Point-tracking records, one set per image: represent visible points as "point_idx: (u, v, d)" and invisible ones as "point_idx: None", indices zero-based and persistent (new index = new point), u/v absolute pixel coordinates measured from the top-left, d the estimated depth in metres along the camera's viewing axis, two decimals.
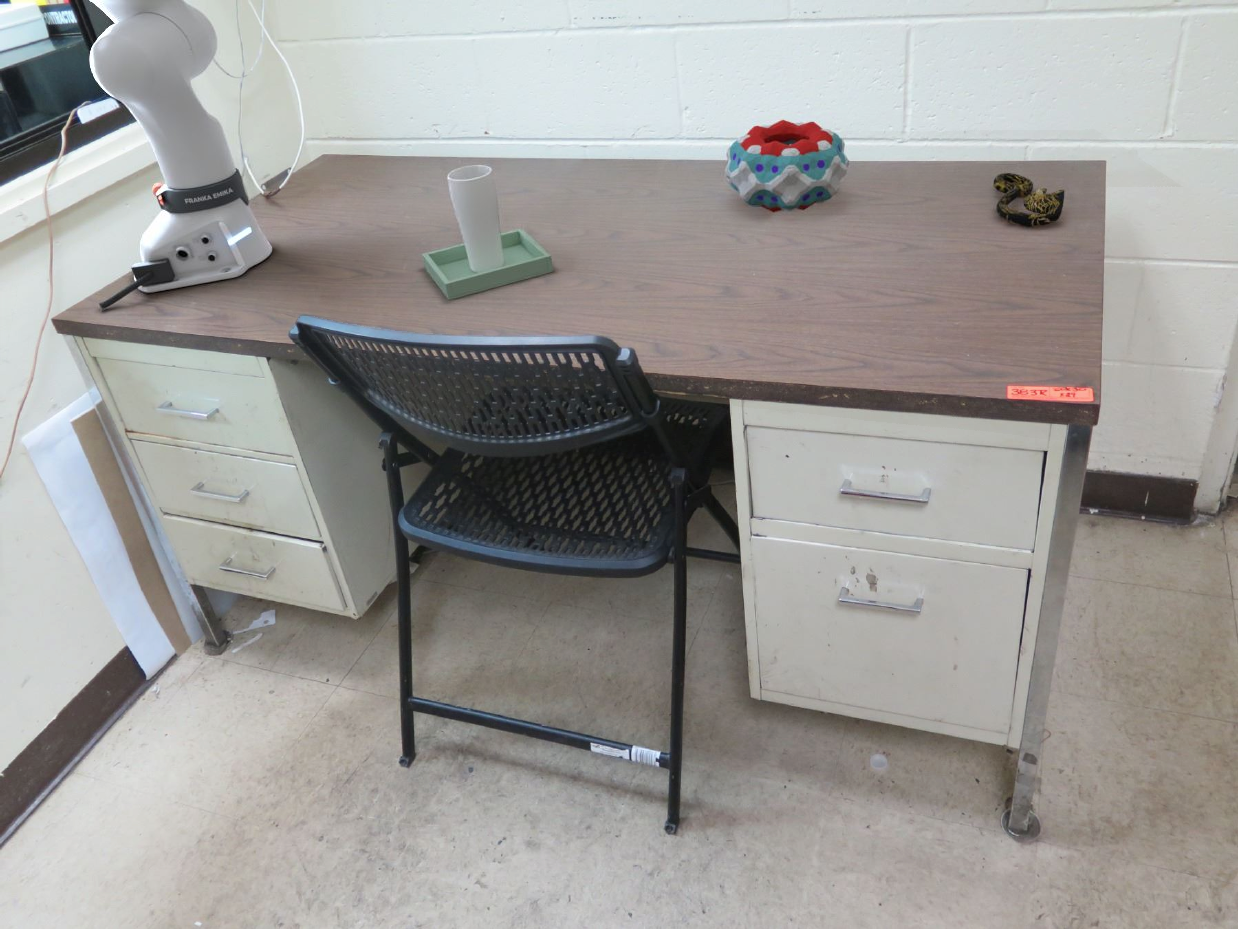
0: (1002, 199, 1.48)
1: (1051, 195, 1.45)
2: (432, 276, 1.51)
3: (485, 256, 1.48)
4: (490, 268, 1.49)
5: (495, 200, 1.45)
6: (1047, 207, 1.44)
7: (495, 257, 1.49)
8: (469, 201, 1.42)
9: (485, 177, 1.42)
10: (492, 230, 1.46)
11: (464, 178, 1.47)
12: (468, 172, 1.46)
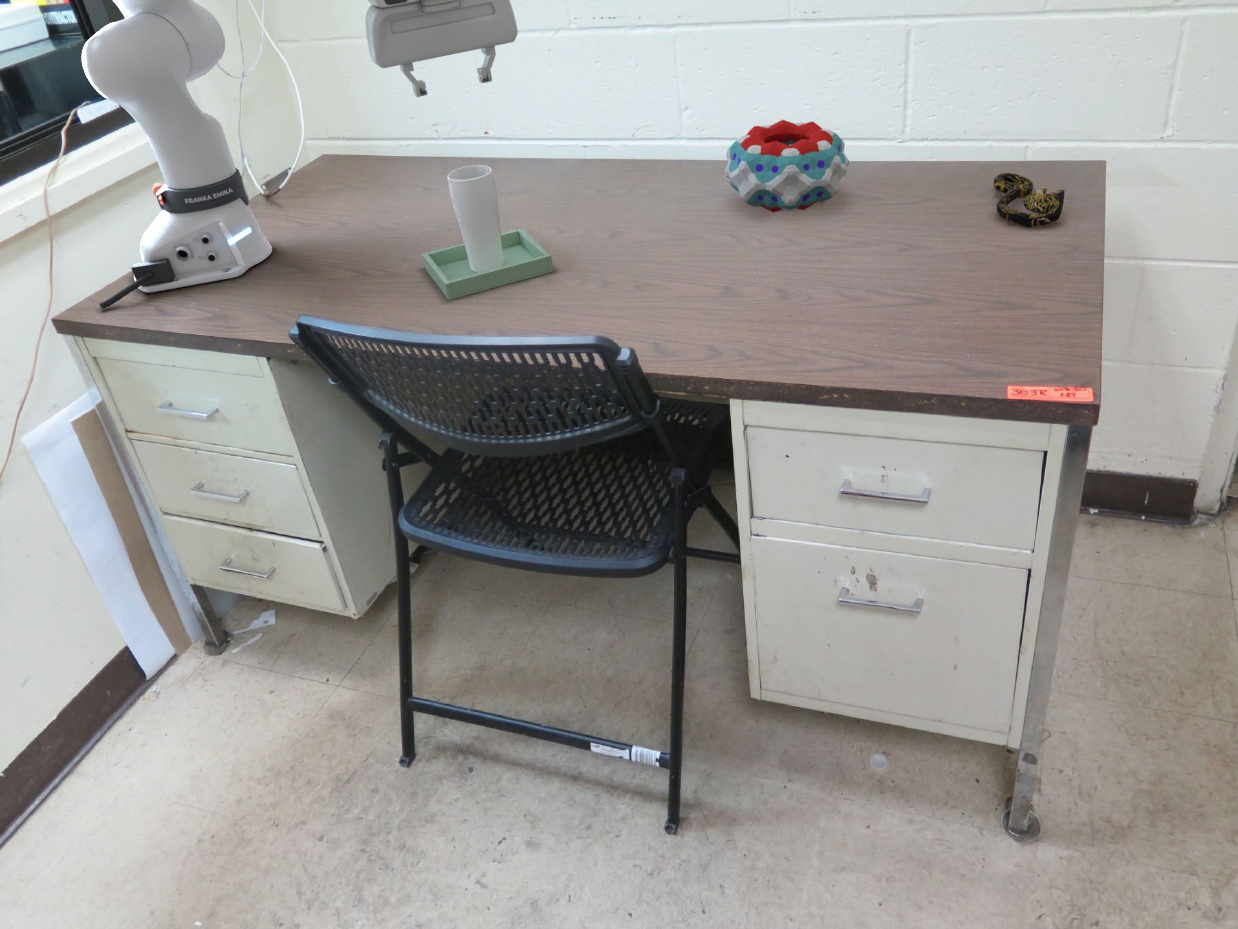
0: (1002, 199, 1.48)
1: (1051, 195, 1.45)
2: (432, 276, 1.51)
3: (485, 256, 1.48)
4: (490, 268, 1.49)
5: (495, 200, 1.45)
6: (1047, 207, 1.44)
7: (495, 257, 1.49)
8: (469, 201, 1.42)
9: (485, 177, 1.42)
10: (492, 230, 1.46)
11: (464, 178, 1.47)
12: (468, 172, 1.46)
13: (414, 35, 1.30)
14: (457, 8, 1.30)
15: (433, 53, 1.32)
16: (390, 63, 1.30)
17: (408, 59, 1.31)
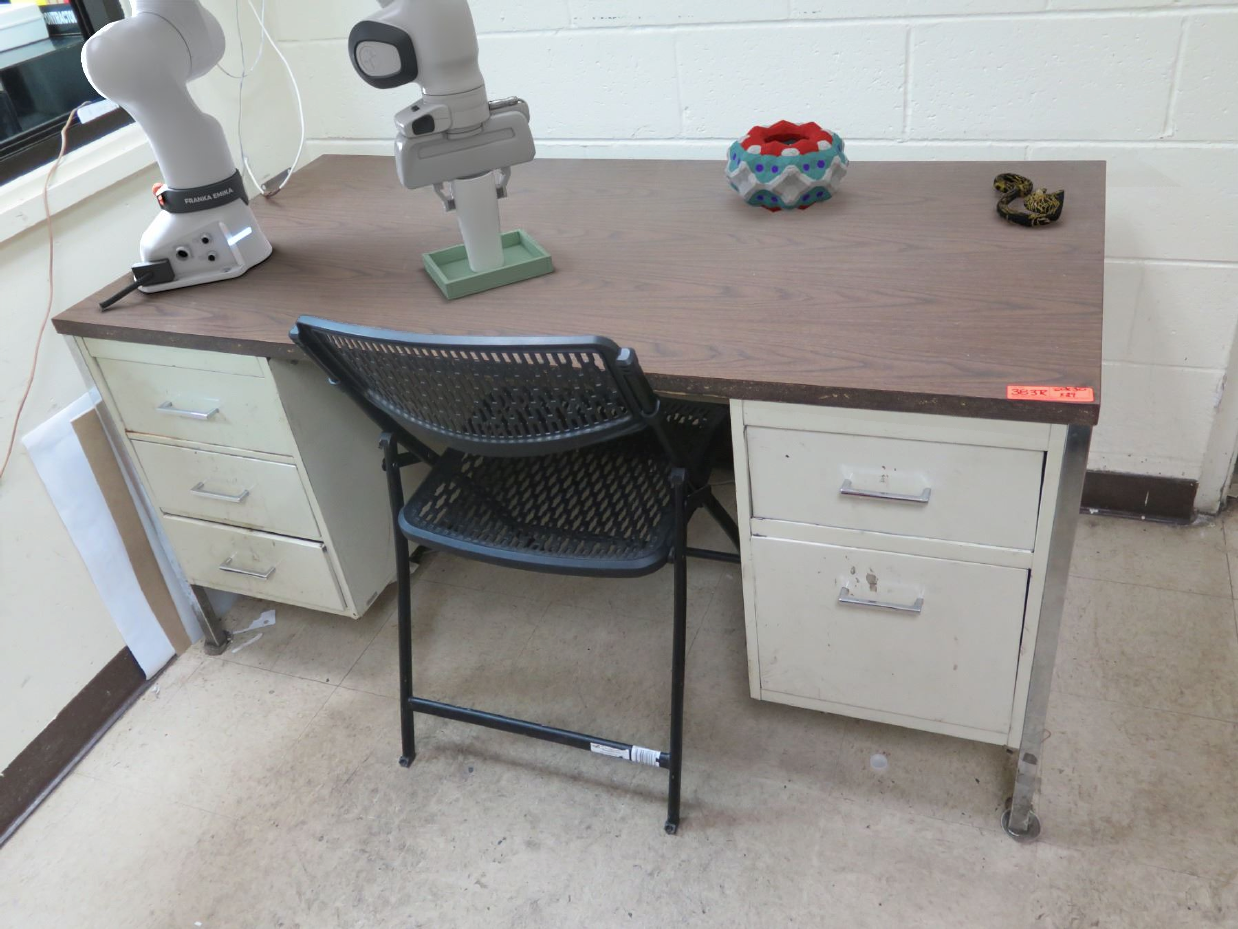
0: (1002, 199, 1.48)
1: (1051, 195, 1.45)
2: (432, 276, 1.51)
3: (485, 256, 1.48)
4: (490, 268, 1.49)
5: (495, 200, 1.45)
6: (1047, 207, 1.44)
7: (495, 257, 1.49)
8: (470, 201, 1.42)
9: (485, 177, 1.42)
10: (492, 230, 1.46)
11: (464, 178, 1.47)
12: None
13: (440, 159, 1.39)
14: (480, 134, 1.40)
15: (457, 175, 1.41)
16: (417, 185, 1.39)
17: (434, 181, 1.40)
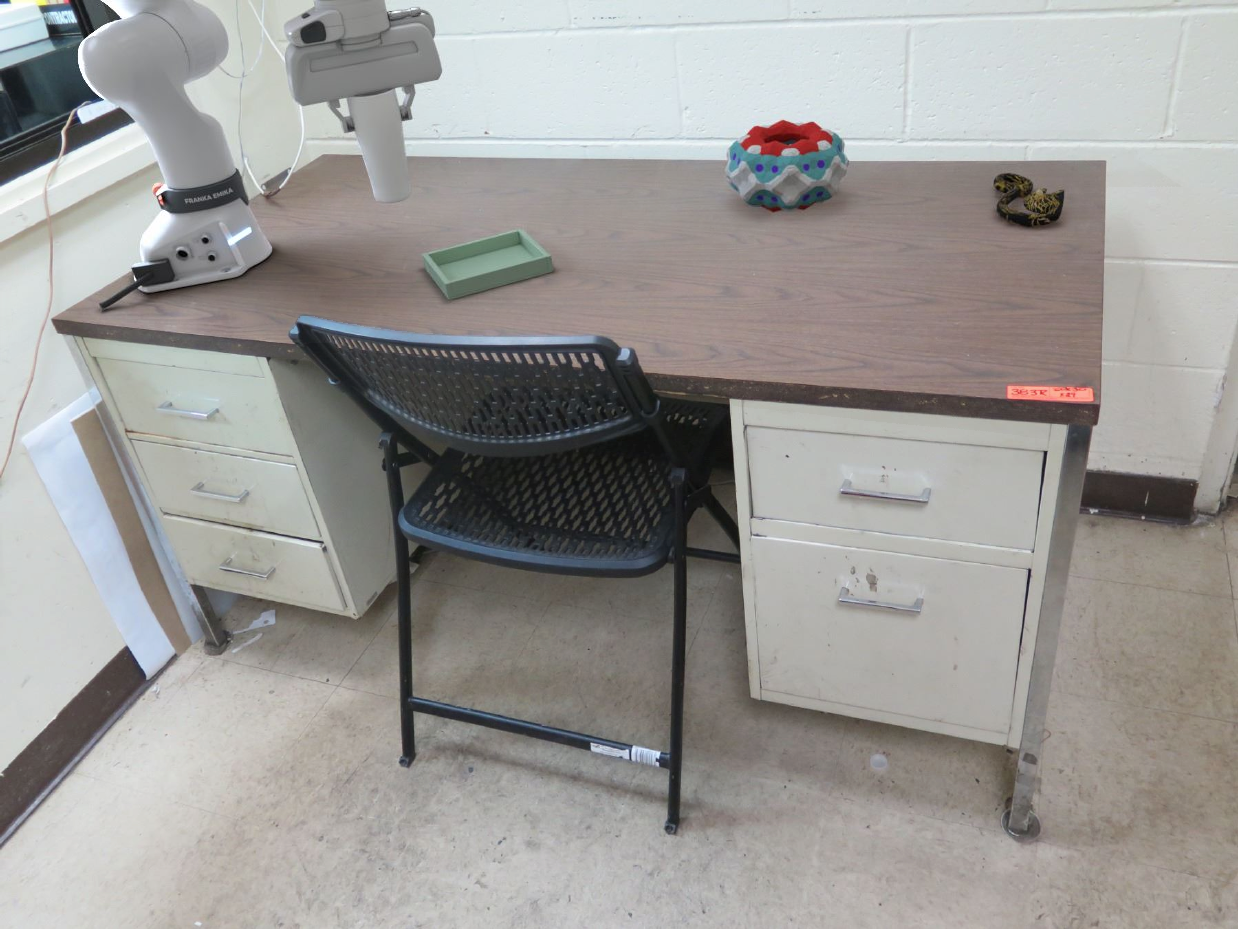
0: (1002, 199, 1.48)
1: (1051, 195, 1.45)
2: (432, 276, 1.51)
3: (389, 183, 1.37)
4: (395, 197, 1.39)
5: (399, 121, 1.34)
6: (1047, 207, 1.44)
7: (400, 185, 1.38)
8: (369, 121, 1.32)
9: (386, 95, 1.31)
10: (395, 154, 1.36)
11: None
12: None
13: (334, 73, 1.28)
14: (378, 46, 1.29)
15: (354, 91, 1.30)
16: (310, 101, 1.29)
17: (328, 97, 1.29)
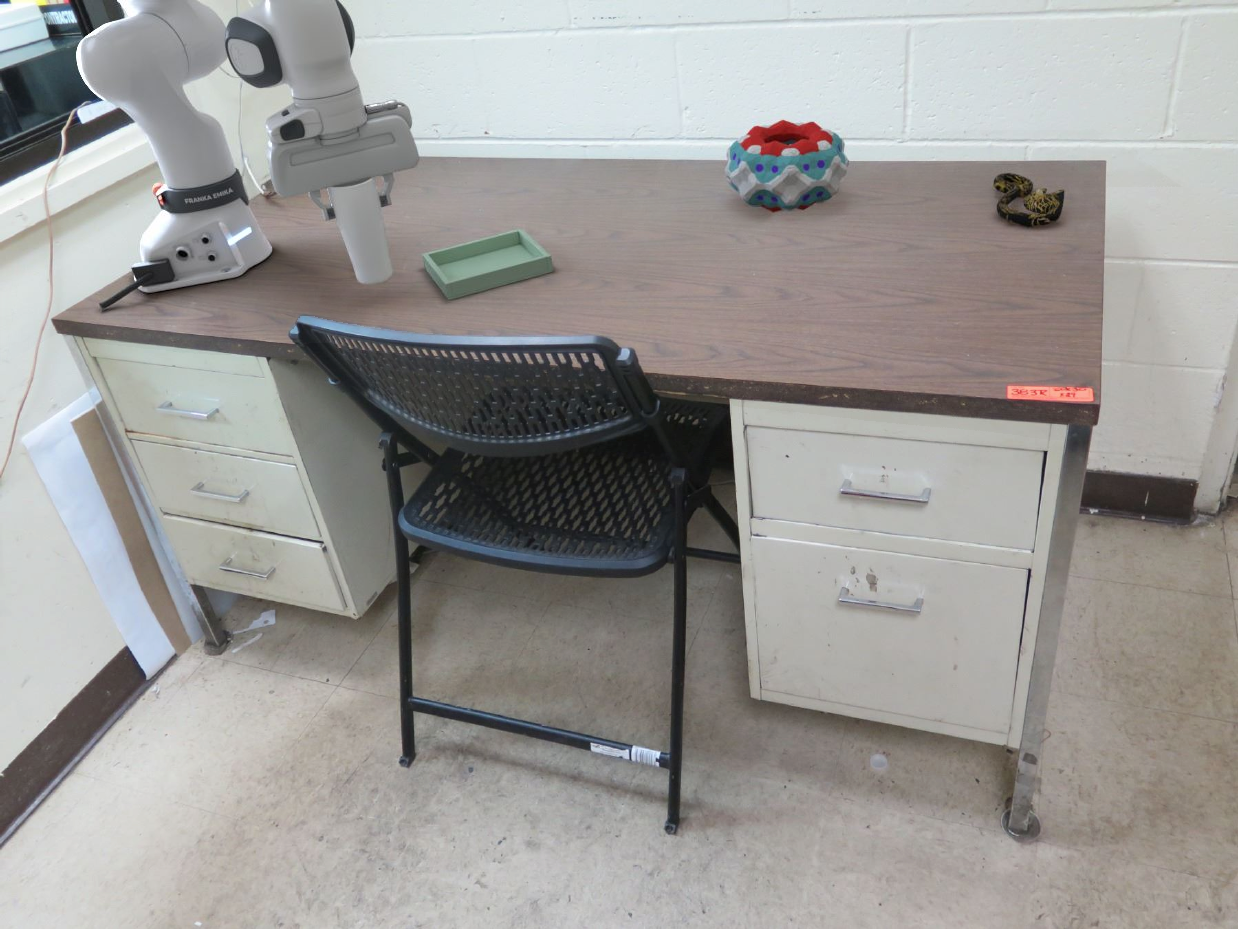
0: (1002, 199, 1.48)
1: (1051, 195, 1.45)
2: (432, 276, 1.51)
3: (370, 267, 1.42)
4: (376, 279, 1.43)
5: (378, 208, 1.38)
6: (1047, 207, 1.44)
7: (381, 268, 1.42)
8: (349, 209, 1.36)
9: (365, 184, 1.35)
10: (375, 239, 1.40)
11: (347, 185, 1.40)
12: None
13: (314, 166, 1.33)
14: (356, 139, 1.33)
15: (334, 182, 1.35)
16: (291, 193, 1.33)
17: (309, 188, 1.34)
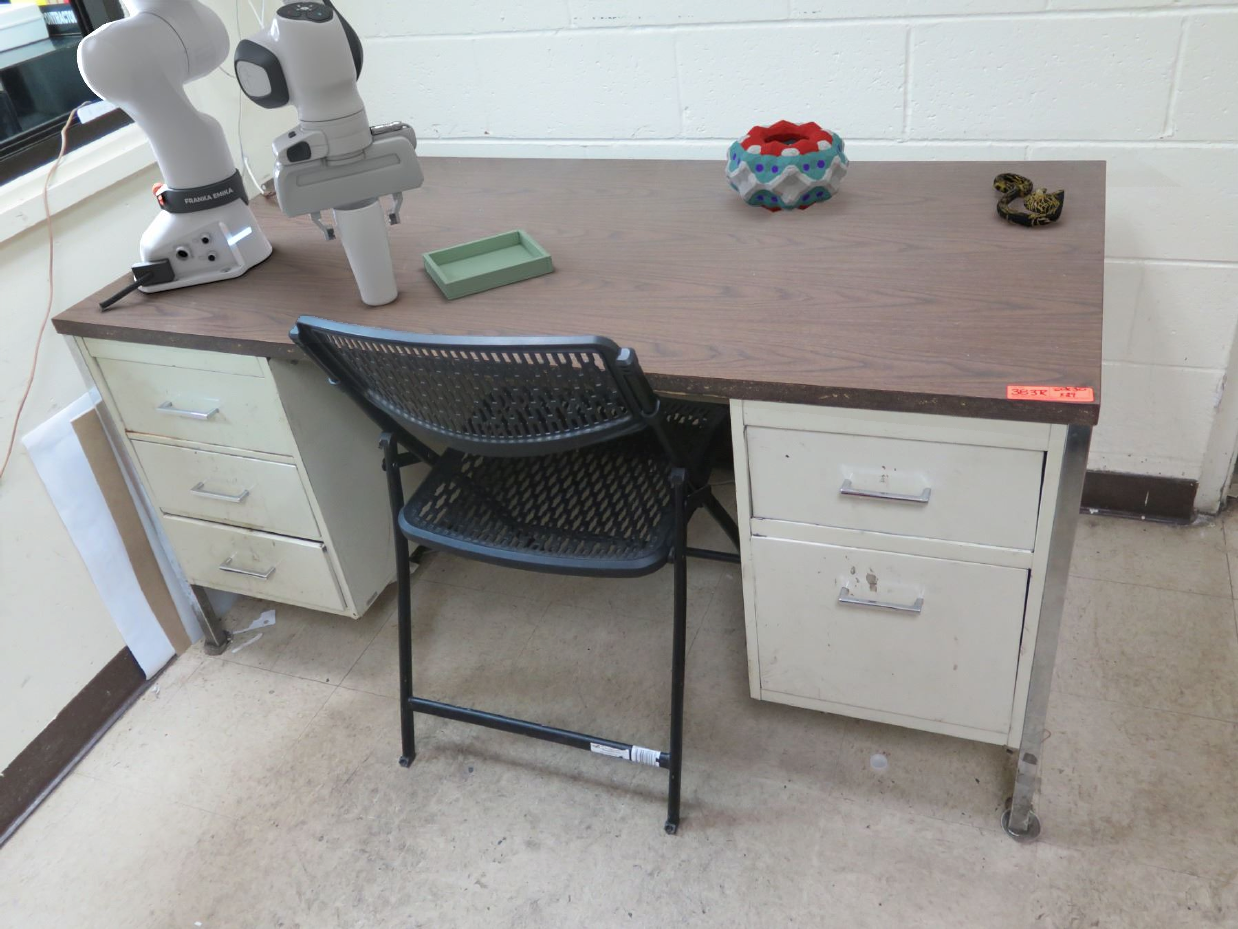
0: (1002, 199, 1.48)
1: (1051, 195, 1.45)
2: (432, 276, 1.51)
3: (375, 288, 1.43)
4: (381, 300, 1.45)
5: (383, 231, 1.40)
6: (1047, 207, 1.44)
7: (386, 289, 1.44)
8: (355, 232, 1.38)
9: (370, 208, 1.37)
10: (380, 261, 1.42)
11: (353, 208, 1.42)
12: (357, 202, 1.42)
13: (320, 186, 1.34)
14: (362, 160, 1.35)
15: (339, 202, 1.36)
16: (297, 213, 1.35)
17: (315, 209, 1.35)
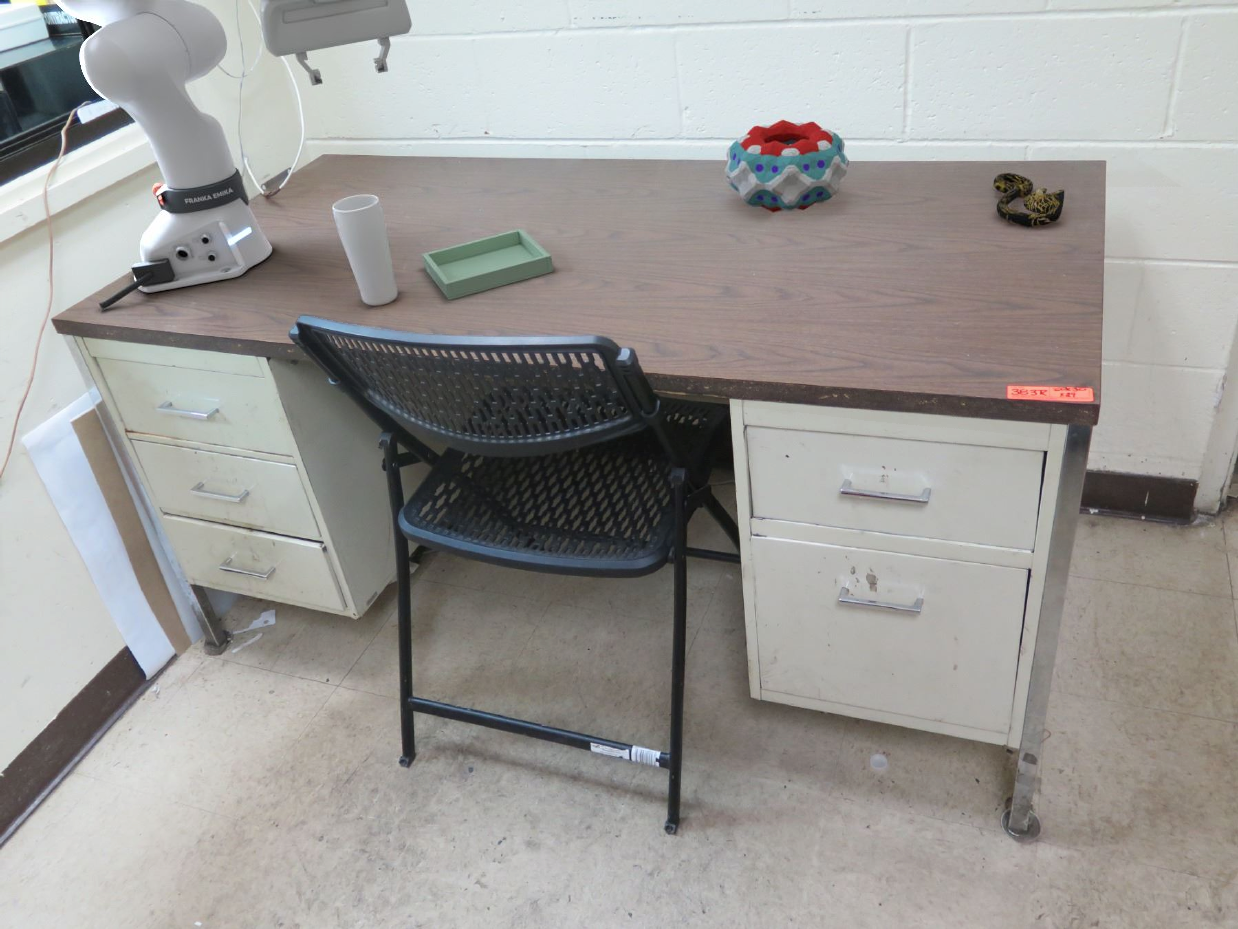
0: (1002, 199, 1.48)
1: (1051, 195, 1.45)
2: (432, 276, 1.51)
3: (375, 288, 1.43)
4: (381, 300, 1.45)
5: (383, 231, 1.40)
6: (1047, 207, 1.44)
7: (386, 289, 1.44)
8: (355, 232, 1.38)
9: (370, 208, 1.37)
10: (380, 261, 1.42)
11: (353, 208, 1.42)
12: (357, 202, 1.42)
13: (306, 25, 1.34)
14: None
15: (326, 43, 1.36)
16: (283, 52, 1.34)
17: (301, 48, 1.35)
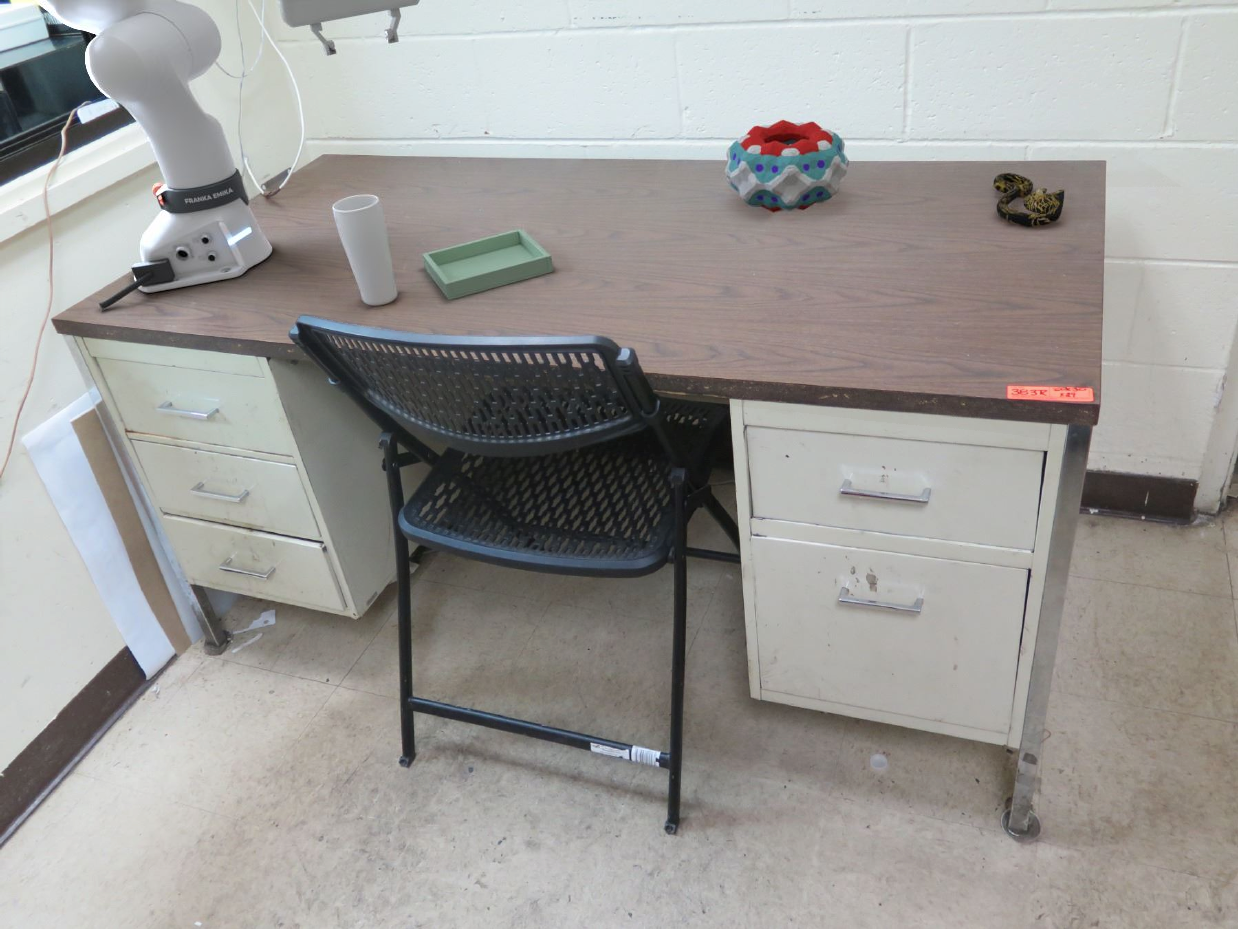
0: (1002, 199, 1.48)
1: (1051, 195, 1.45)
2: (432, 276, 1.51)
3: (375, 288, 1.43)
4: (381, 300, 1.45)
5: (383, 231, 1.40)
6: (1047, 207, 1.44)
7: (386, 289, 1.44)
8: (355, 232, 1.38)
9: (370, 208, 1.37)
10: (380, 261, 1.42)
11: (353, 208, 1.42)
12: (357, 202, 1.42)
13: None
14: None
15: (340, 14, 1.42)
16: (299, 23, 1.40)
17: (316, 19, 1.41)
